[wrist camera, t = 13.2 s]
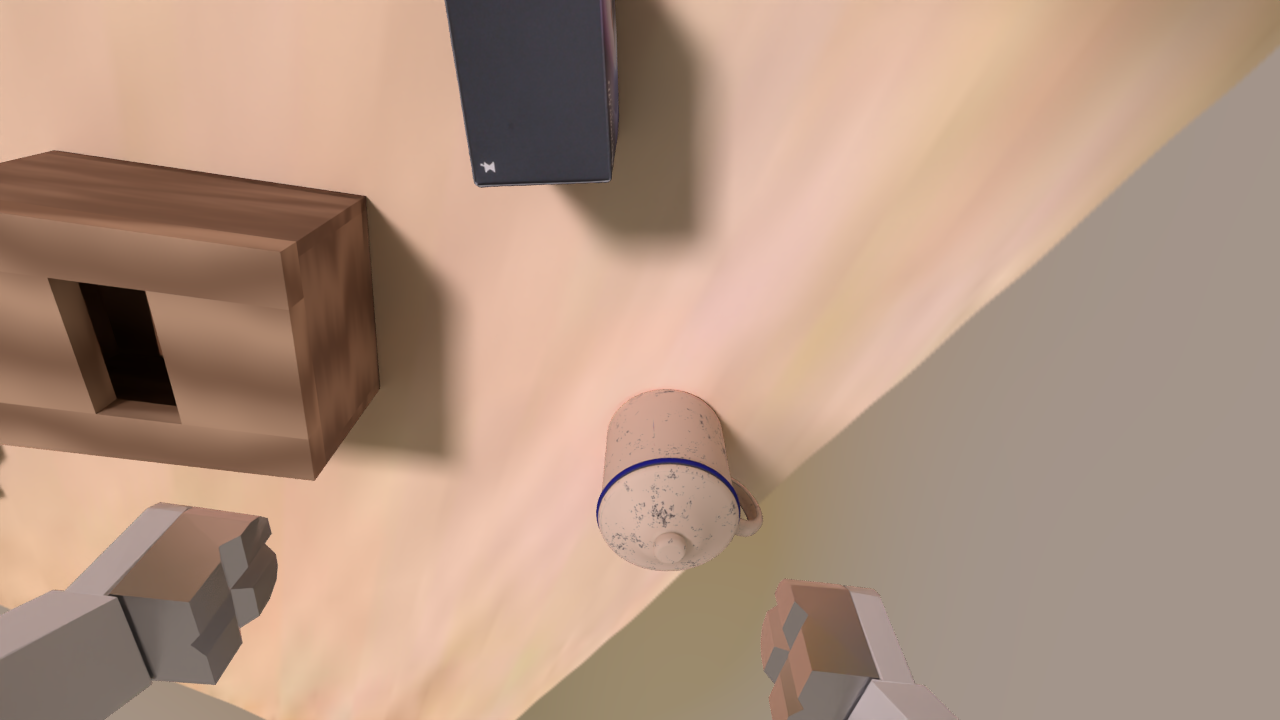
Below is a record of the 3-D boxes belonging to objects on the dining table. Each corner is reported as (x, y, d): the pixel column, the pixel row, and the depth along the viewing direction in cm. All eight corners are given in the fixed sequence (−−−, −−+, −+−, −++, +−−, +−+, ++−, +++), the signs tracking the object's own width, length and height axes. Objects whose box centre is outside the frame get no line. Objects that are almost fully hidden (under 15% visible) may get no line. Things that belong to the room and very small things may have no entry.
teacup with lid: (584, 455, 47) (567, 577, 37) (638, 364, 43) (636, 473, 33) (718, 509, 50) (737, 636, 39) (781, 428, 45) (820, 547, 35)
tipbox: (54, 150, 36) (-135, 194, 27) (365, 196, 37) (280, 252, 28) (119, 355, 43) (-15, 442, 34) (380, 388, 44) (314, 480, 35)
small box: (625, 143, 36) (618, 188, 26) (513, 147, 36) (468, 193, 27) (615, -79, 30) (602, -118, 21) (485, -73, 30) (416, -110, 21)
